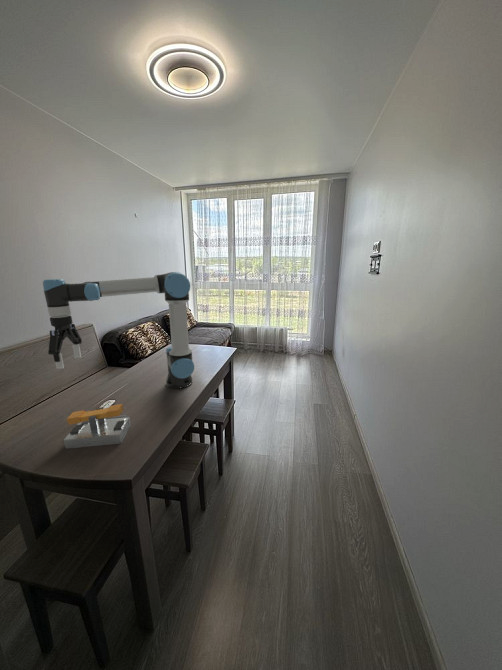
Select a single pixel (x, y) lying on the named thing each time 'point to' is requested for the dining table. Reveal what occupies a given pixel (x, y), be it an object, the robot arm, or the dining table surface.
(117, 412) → the lever
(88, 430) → the grey bracketed base
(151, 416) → the dining table surface
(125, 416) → the grey rod
